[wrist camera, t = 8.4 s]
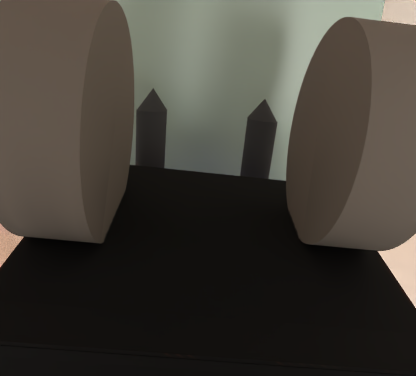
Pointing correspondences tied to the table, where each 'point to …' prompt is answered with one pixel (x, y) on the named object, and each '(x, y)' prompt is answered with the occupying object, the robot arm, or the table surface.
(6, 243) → the table surface
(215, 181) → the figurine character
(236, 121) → the pale green stepped box
